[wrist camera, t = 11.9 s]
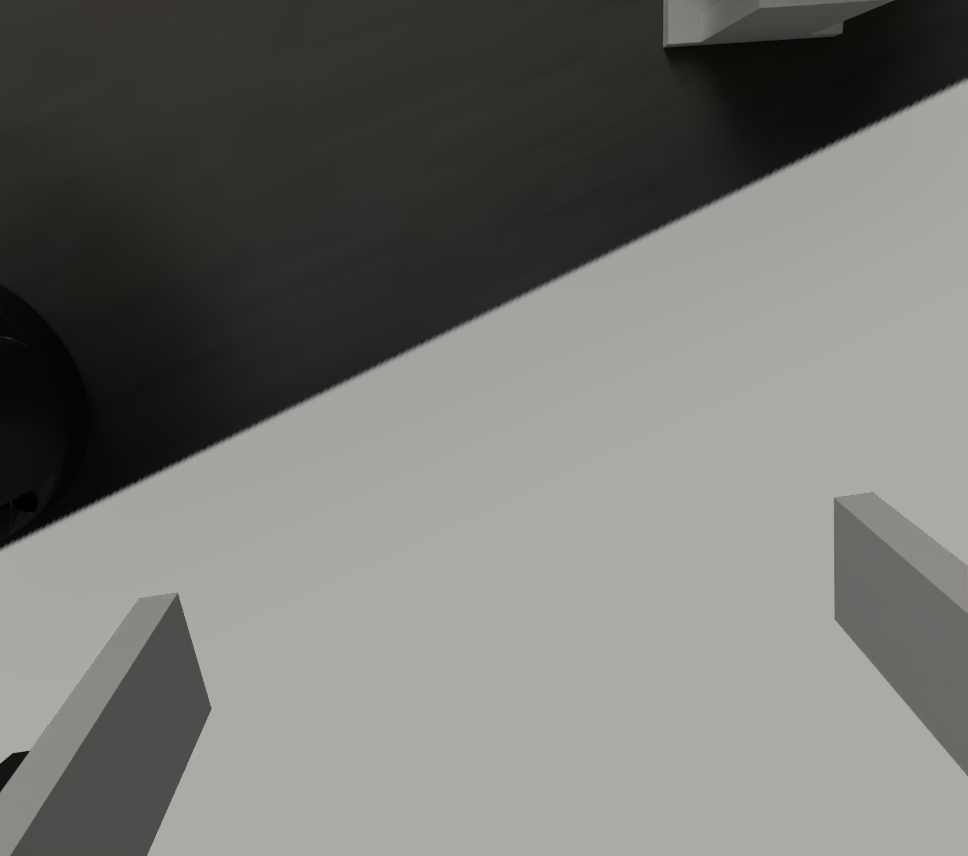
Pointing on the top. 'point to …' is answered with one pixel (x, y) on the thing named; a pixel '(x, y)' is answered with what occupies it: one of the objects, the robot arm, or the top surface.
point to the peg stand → (756, 20)
